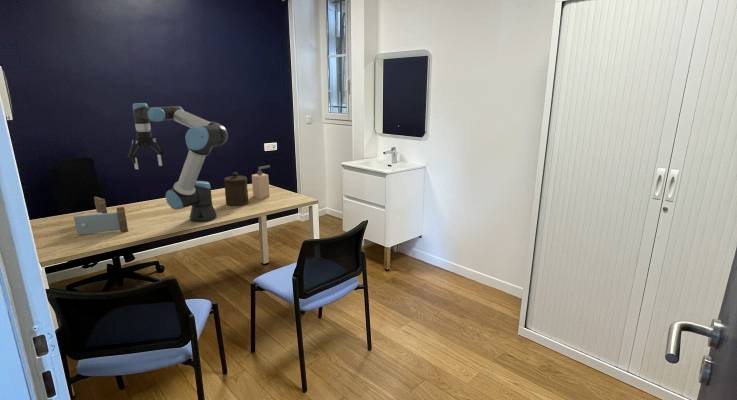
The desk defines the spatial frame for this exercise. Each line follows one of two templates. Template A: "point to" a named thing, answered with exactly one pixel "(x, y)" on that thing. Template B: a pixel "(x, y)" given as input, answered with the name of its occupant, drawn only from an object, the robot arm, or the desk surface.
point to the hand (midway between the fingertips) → (148, 167)
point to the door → (96, 223)
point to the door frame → (101, 208)
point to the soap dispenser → (260, 183)
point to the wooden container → (236, 190)
